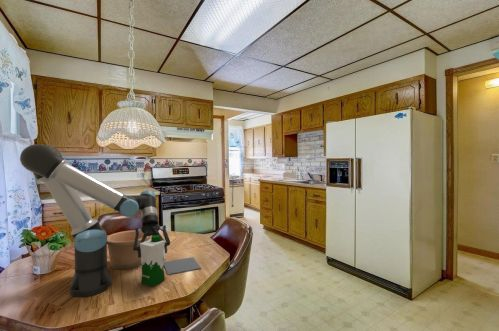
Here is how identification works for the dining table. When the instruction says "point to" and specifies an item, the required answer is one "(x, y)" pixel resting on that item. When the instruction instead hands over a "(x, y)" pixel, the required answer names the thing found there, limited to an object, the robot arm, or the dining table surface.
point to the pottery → (124, 249)
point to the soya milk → (152, 261)
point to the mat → (181, 265)
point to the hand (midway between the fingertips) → (153, 261)
